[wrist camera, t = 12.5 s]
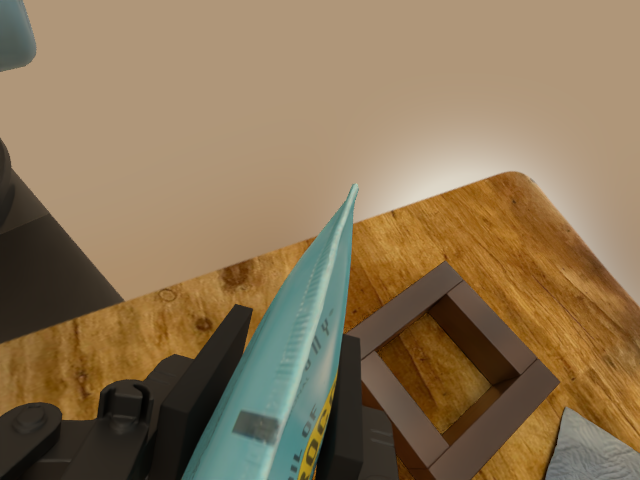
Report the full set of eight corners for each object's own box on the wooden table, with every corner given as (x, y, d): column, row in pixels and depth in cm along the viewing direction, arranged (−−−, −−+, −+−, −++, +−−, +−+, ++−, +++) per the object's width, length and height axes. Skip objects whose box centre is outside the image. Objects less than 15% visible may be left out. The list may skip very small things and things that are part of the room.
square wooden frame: (325, 356, 38) (333, 342, 33) (427, 280, 43) (445, 260, 39) (427, 496, 33) (451, 501, 28) (528, 391, 38) (561, 382, 34)
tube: (284, 552, 19) (426, 1082, 3) (188, 525, 19) (-256, 883, 3) (320, 395, 23) (468, 211, 6) (239, 372, 23) (184, 134, 7)
